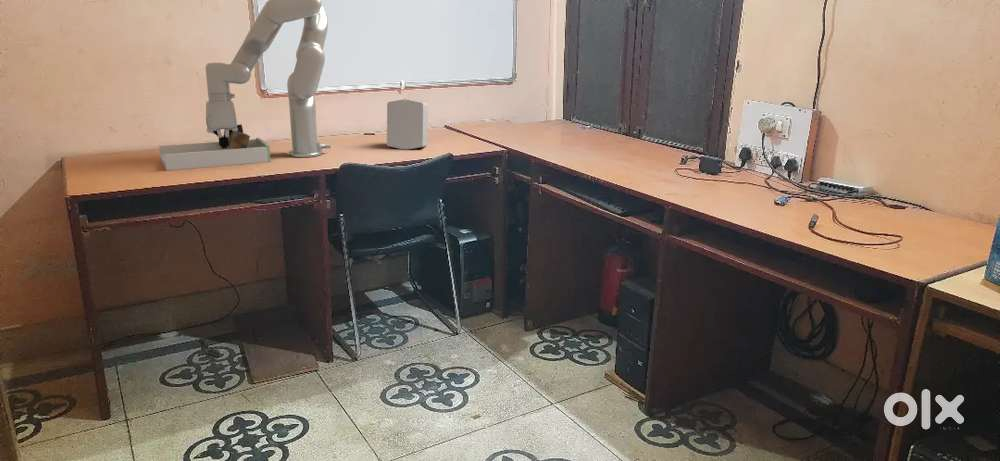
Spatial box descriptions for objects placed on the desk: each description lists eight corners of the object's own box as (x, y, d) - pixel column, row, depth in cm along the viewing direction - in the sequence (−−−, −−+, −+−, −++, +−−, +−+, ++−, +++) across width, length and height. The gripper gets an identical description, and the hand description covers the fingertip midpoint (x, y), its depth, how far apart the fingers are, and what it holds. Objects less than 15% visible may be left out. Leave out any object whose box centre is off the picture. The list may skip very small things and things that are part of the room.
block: (241, 148, 273) (245, 133, 273) (245, 151, 268) (250, 136, 268) (225, 144, 270) (229, 129, 269) (229, 147, 265) (233, 131, 264)
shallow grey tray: (259, 153, 279) (258, 137, 277) (270, 161, 264) (269, 145, 262) (161, 160, 262) (159, 144, 260) (166, 170, 247) (164, 153, 245)
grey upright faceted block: (429, 148, 305) (430, 100, 302) (422, 150, 290) (423, 99, 287) (395, 147, 306) (395, 99, 303) (386, 148, 291) (387, 98, 288)
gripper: (238, 95, 268) (243, 144, 273) (195, 97, 261) (201, 147, 266) (243, 98, 262) (247, 148, 267) (199, 99, 254) (204, 151, 260)
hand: (224, 147), depth 267 cm, fingers closed
